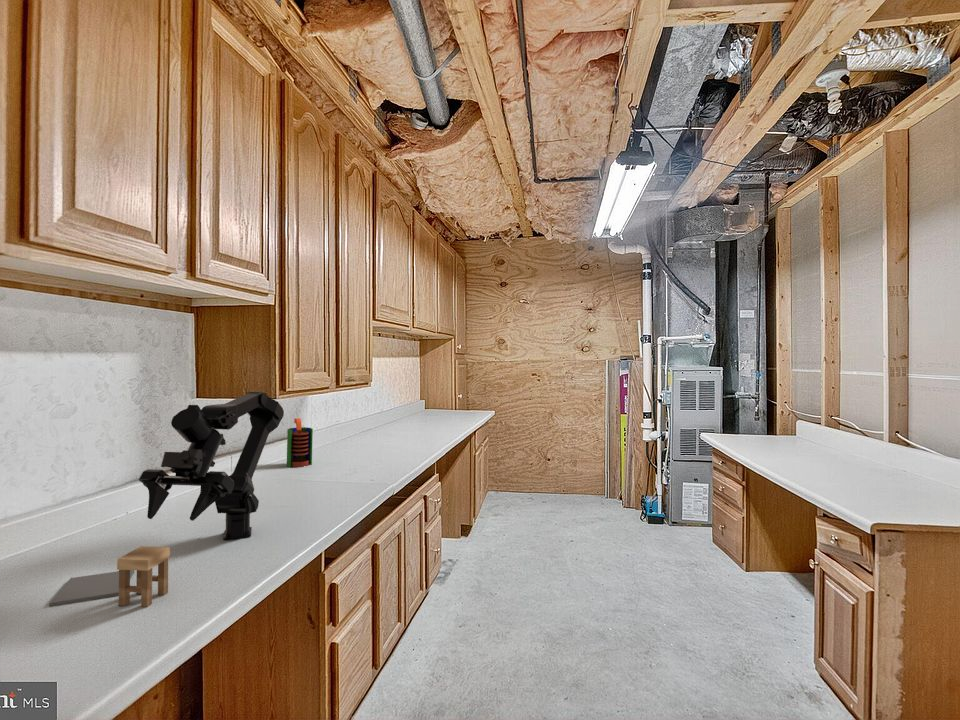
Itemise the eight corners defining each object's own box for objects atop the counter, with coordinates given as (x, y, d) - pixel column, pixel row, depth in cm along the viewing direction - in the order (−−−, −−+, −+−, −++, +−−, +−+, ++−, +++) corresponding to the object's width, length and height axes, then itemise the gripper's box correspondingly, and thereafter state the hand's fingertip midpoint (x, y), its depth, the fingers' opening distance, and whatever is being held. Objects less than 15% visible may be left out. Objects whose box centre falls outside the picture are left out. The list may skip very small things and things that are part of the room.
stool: (140, 590, 96) (141, 546, 96) (169, 591, 96) (170, 547, 96) (116, 606, 90) (117, 558, 90) (147, 607, 90) (147, 560, 90)
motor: (293, 468, 199) (294, 421, 199) (281, 465, 204) (282, 419, 204) (314, 464, 207) (315, 418, 207) (303, 461, 213) (303, 416, 212)
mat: (70, 580, 100) (70, 577, 100) (134, 571, 104) (134, 569, 104) (49, 606, 90) (49, 603, 90) (120, 595, 94) (120, 592, 94)
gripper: (142, 433, 105) (103, 502, 95) (225, 436, 104) (194, 505, 94) (169, 458, 113) (136, 523, 103) (246, 460, 112) (219, 526, 102)
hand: (170, 519), depth 100 cm, fingers open, 9 cm apart
